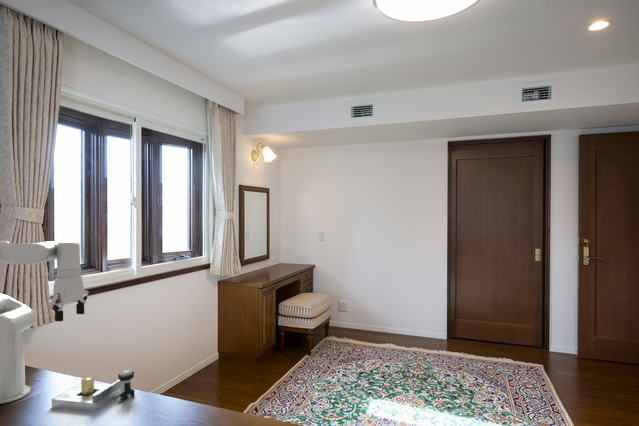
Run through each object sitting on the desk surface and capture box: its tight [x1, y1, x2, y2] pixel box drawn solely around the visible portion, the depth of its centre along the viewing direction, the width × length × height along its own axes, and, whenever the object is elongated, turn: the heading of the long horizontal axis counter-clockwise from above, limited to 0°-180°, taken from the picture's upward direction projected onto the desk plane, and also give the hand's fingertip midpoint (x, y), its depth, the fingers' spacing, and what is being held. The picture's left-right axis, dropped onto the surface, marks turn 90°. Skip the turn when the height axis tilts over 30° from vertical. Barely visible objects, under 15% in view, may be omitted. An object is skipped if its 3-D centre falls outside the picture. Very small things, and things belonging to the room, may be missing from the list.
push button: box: [116, 368, 136, 403], centre depth 138 cm, size 7×5×10 cm
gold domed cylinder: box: [80, 375, 95, 397], centre depth 138 cm, size 4×4×8 cm
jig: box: [51, 379, 121, 413], centre depth 138 cm, size 18×13×6 cm
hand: (70, 317), depth 146 cm, fingers open, 9 cm apart
